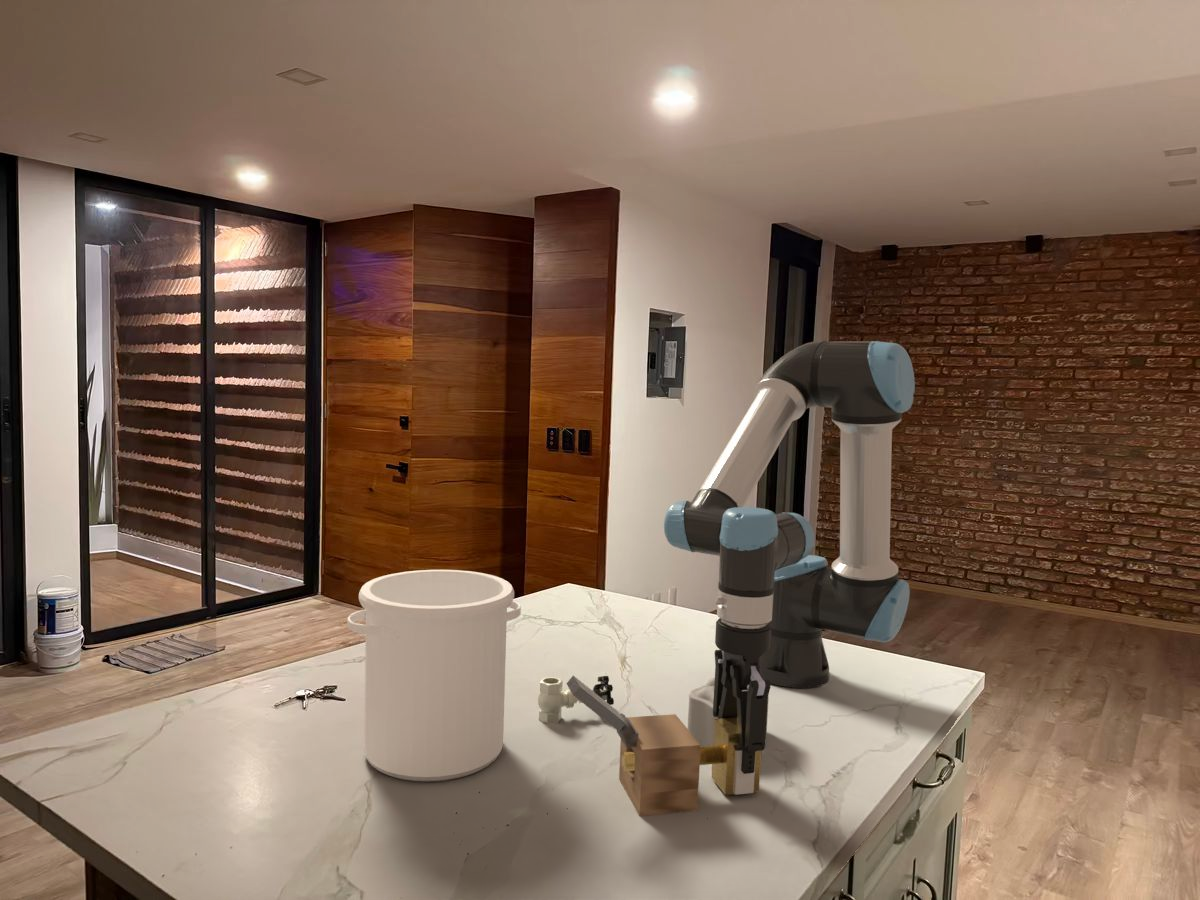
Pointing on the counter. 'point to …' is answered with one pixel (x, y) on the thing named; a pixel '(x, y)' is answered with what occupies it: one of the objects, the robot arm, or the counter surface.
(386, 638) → the bucket
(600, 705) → the lever
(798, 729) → the counter surface
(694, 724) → the lumpy-topped squat cylinder
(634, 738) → the block
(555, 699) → the valve
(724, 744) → the pin
